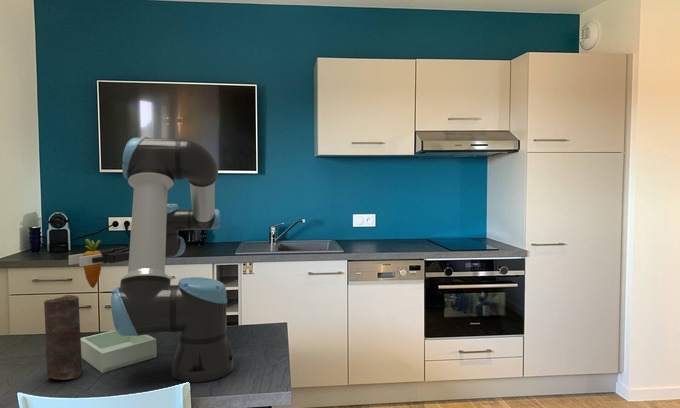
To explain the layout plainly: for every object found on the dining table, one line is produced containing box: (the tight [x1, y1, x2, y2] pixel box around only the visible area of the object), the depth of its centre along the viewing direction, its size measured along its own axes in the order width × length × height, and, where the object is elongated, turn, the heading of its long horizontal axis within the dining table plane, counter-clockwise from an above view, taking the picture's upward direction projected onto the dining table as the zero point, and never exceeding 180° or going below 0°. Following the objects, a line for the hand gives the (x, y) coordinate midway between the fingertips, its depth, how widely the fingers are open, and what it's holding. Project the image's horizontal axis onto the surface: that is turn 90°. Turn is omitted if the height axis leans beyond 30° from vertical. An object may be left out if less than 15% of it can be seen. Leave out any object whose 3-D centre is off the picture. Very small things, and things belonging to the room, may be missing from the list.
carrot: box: [82, 238, 102, 289], centre depth 134 cm, size 5×5×15 cm
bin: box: [81, 329, 158, 374], centre depth 121 cm, size 16×14×5 cm
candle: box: [43, 294, 83, 381], centre depth 108 cm, size 8×7×20 cm
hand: (74, 261), depth 130 cm, fingers closed on carrot, 5 cm apart
